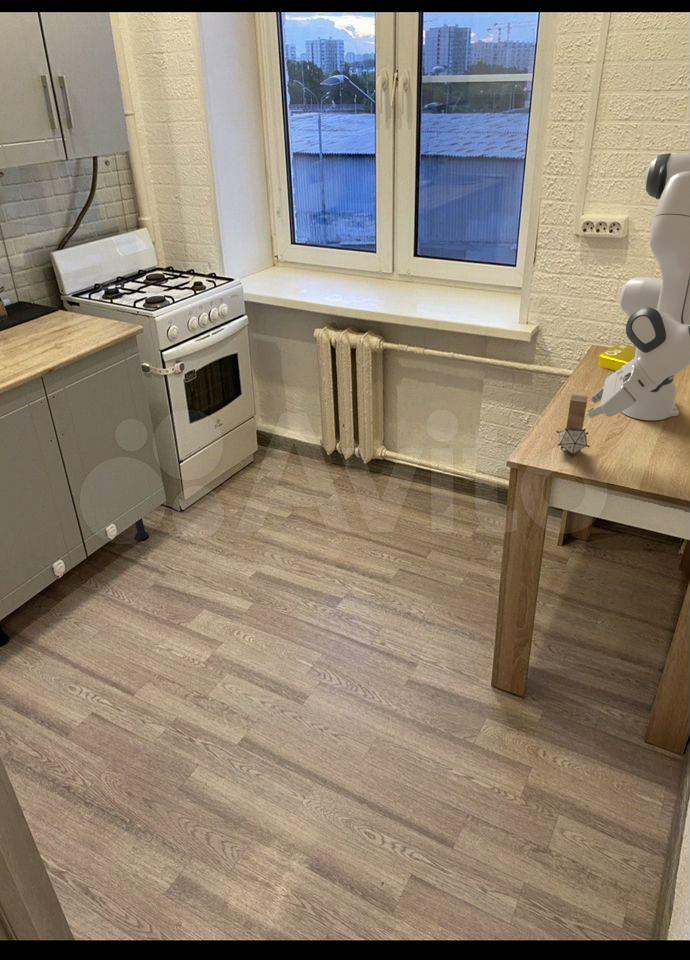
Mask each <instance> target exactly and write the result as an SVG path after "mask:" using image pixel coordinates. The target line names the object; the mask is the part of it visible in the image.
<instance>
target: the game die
mask: <svg viewBox="0 0 690 960" xmlns="http://www.w3.org/2000/svg"><path fill="white" fill-rule="evenodd" d="M586 430H587V429H586V428H584V429H582V430H579V429H571V428H566V427H565V428H564V429H562V430H560V431H559V430H556V433H558V437H559V438H558V441H559V443H557V446H558V447H559V446H560V449H561V450H563V449H564V450H566V452H568V453H569V454H571V456H570V457H571V458H573V457H574V454H575V453H578V452H579V451H581V450H583V449H584V448H586V447H587V448H591V446H590V445H588V440H587V439H588V438H587V435H589V433H590V432H588V431H587V432H586Z"/></svg>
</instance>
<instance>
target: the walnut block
mask: <svg viewBox="0 0 690 960" xmlns="http://www.w3.org/2000/svg"><path fill="white" fill-rule="evenodd" d="M588 397H589V396H588V395H583V394H582V395H580V394H573V393H572V394H571V397H570V402H569V407H568V415H567V421H566V427H565V428H571V429H579V430H583V427H584V421H585V415H586V410H587V404H588Z"/></svg>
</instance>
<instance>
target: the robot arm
mask: <svg viewBox="0 0 690 960" xmlns="http://www.w3.org/2000/svg"><path fill="white" fill-rule="evenodd" d="M644 184H645V191H646V193H647V194H648V195H649V196H650V197H651V198H654V199H656V200H658V204H657V206H656V210H655V212H654V217H653V219H652V224H651V229H650V237H649V246H650V250H651V251H652V252H651V253H652V254H653V256H654V257H655V259H656V261H657V263H658V265H659V268H660V272H661V278H657V277H656V278H655V277H650V276H649V277H648V276H647V277H646V276H645V277H643V276H642V277H633V278H632V277H631V278H630V279H628V281H626V282H625V283H624V285H623V286H621V287H622V288H621V289H620V292H619V295H618V303H619V306H620V308H621V310H622V311H623V313H625V314H626V316H627V317H628V319H627V321H626V324H625V334H626V337H627V339H628V340H629V341H630V342H631V344H633V346H635V348H636V353H635V358H634V359H632V360H631V361H630V362H628V363H627V364H625V365H624V366H622V368H621V369H619V370H618V371H614V372H613V373H612V374H610V375H608V376H607V377H606V379H605V381H604V386H602V387H601V388H600V389H599V390H598V391H597V392H596V393H595V394H593V395H592V396H591V401H592V402H593V403H594V404H597V403H599V402H600V404H599V405H598V406H595V407H593V408H590V409H589V410H588V412H587V415H588V417H589V418H590V419H594V418H595V417H597V416H600V415H603V414H605V416H606V417H607V418H609V417H614V416H616V415H617V414H620V413H622V414H624V415H625V416H628V417H631V418H632V419H637V420H643V421H661V420H666V419H668V418H671V417H677V416H679V413H680V411H679V410H678V407H677V405H676V403H675V401H676V396H677V390H678V389H677V387H676V385H674V383H673V382H674V379H675V376H676V375H677V374H678V373H680V372H681V371H683V370H685V369H686V368H687V367H689V366H690V153H674V154H671V152H669V153H662V154H658V155H657V156H655V157H654V158H653V159H652V160H651V162H650V164H649V166H648V168H647V170H646V172H645V177H644Z"/></svg>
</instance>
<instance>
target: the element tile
mask: <svg viewBox="0 0 690 960" xmlns="http://www.w3.org/2000/svg"><path fill="white" fill-rule="evenodd" d="M635 353H636V347H633V346H629V345H625V344H624V345H623V344H616V345H614V346H613V347H611V348H609V349H607V350H605V351H603V352H601V353H600V354H599V356H598V363H597V366H598V367H600V368H604V369H607V370H611V371H614V372H616V371H618V370H619V369H621V368H622V366H624V365H625V364H627V363H628V362H630V361H631V360H632V359H634V358H635Z"/></svg>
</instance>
